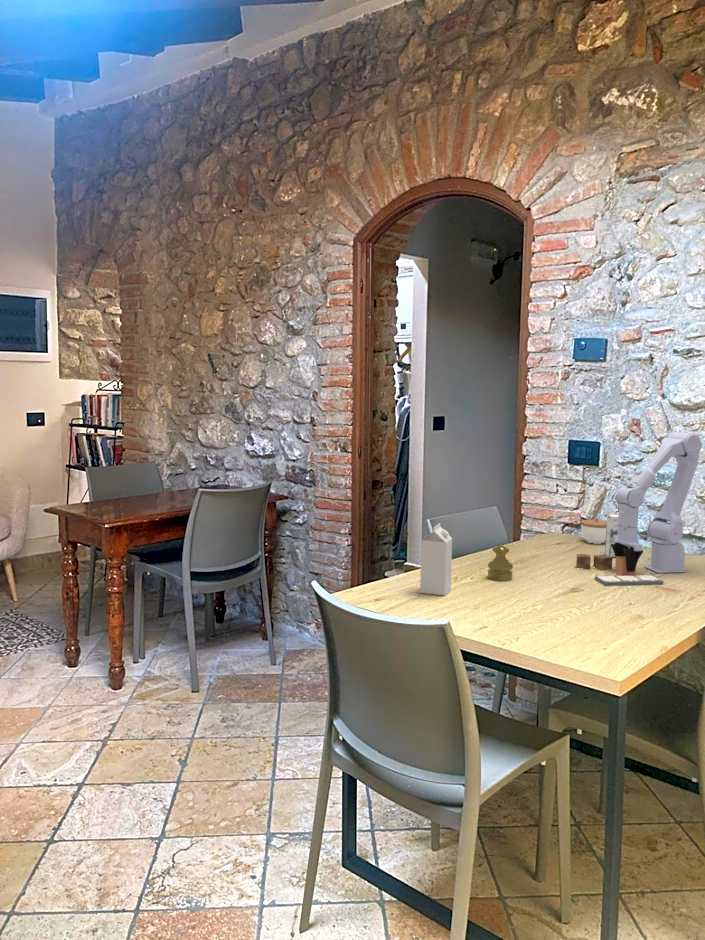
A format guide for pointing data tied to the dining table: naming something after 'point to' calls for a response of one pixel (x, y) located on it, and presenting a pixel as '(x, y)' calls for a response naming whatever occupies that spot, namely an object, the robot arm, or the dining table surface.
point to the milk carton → (436, 562)
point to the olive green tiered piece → (500, 565)
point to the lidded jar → (594, 531)
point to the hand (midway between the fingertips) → (625, 568)
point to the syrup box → (611, 533)
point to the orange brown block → (622, 566)
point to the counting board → (629, 580)
